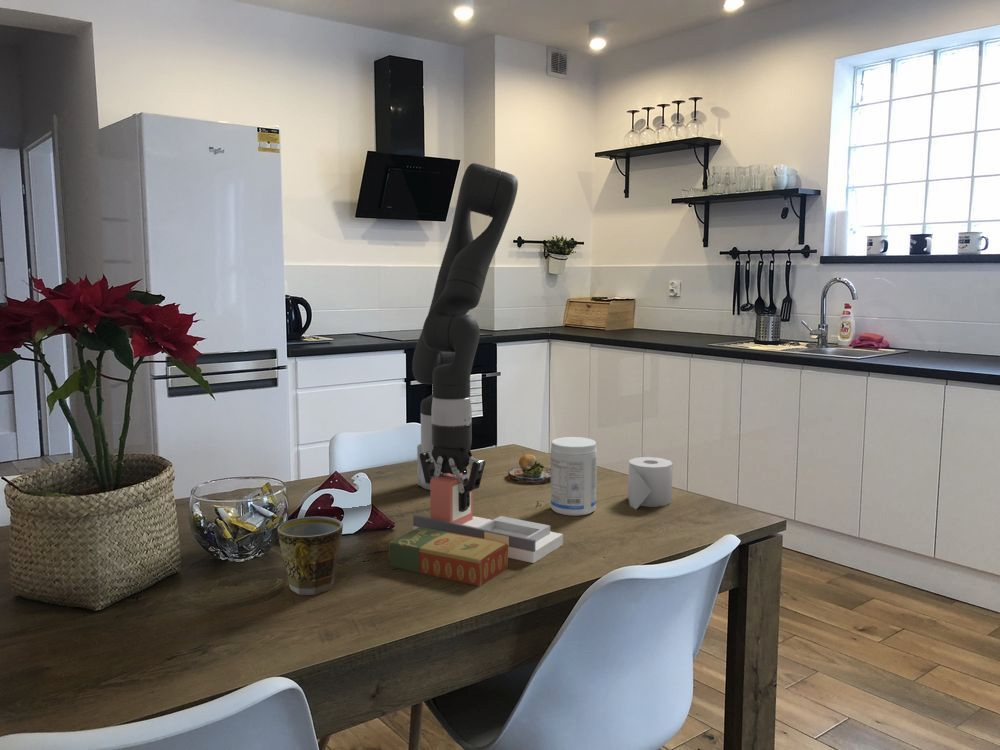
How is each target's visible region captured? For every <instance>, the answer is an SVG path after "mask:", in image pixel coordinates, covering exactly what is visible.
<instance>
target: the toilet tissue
mask: <svg viewBox="0 0 1000 750" xmlns="http://www.w3.org/2000/svg"><path fill="white" fill-rule="evenodd" d="M627 484H628V485H627V499H628V503H629V506H630V507H632V508H633V509H635V510H637V509H638V508H639V507H641V506H642V507H650V508H657V507H666V506H668V505H670V504H672V495H673V494H672V493H673V490H672V489H673V462H672V460H669V459H665V458H662V457H653V456H642V457H640V456H639V457H634V458H631V459H628V482H627Z"/></svg>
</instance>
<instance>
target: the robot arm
mask: <svg viewBox="0 0 1000 750" xmlns="http://www.w3.org/2000/svg"><path fill="white" fill-rule="evenodd" d="M518 188H519V183H518V179H517V176H515V175H514V174H512V173H509V172H506V171H503V170H499V169H496V168H493V167H490V166H487V165H483V164H480V163H474V162H473V163H470V164H469V165H468V166H467V167H466V169H465V171H464V174H463V176H462V178H461V183H460V187H459V190H458V197H457V200H456V205H455V211H454V215H453V221H452V226H451V229H450V234H449V238H448V241H447V245H446V249H445V251H444V255H443V258H442V261H441V263H440V268H439V271H438V274H437V279H436V282H435V287H434V291H433V296H432V299H431V303H430V306H429V309H428V313H427V316H426V318H425V320H424V322H423V325H422V330H421V333H420V335H419V338H418V341H417V343H416V346H415V348H414V352H413V357H412V368H411V369H412V370H411V371H412V375H413V377H414V379H415V380H416V382H418V383H419V384H422V385H432V394H430V395H428V396H427V397H425V398H423V399H422V400H421V402H420V406H419V407H420V408H419V409H420V444H418V445H417V446H416V450H417V453H416V454H417V457H416V458H417V461H416V463H417V486H420V487H422V489H424V490H429V491H430V479H433V478H435V477H441V476H444V475H446V474H449V473H450V474H452V475H453V476H454V479H455V480H457V481H458V488H459V491H460V493H459V511H460V512H464V511H466V510H467V509H468V508H469V506H470V491H474V490H477V489H479V488H480V485H481V481H482V477H483V474H484V473H483V472H484V470H485V465H486V461H485V460H484V459H482V458H481V459H477V458H476V457H473V454H472V451H471V447H472V439H473V435H472V432H473V431H472V428H473V427H472V422H473V421H472V418H473V417H472V412H473V411H472V410H473V409H472V402H471V375H472V374H471V373H472V369H473V365H474V360H475V356H476V353H477V349H478V347H479V346H478V345H479V341H480V337H481V332H480V325H479V323H478V321H477V320H476V318H475V317H474V316H472V315H471V314H468V313H469V312H470V311H471V310H473V309H476V307H478V305H479V304H480V300H481V297H482V294H483V290H484V286H485V282H486V279H487V275H488V272H489V268H490V265H491V264H492V263H491V262H492V260H493V257H494V255H495V253H496V250H497V248H498V247H499V244H500V241H501V239H502V237H503V234H504V232H505V229H506V226H507V223H508V221H509V218H510V216H511V214H512V210H513V208H514V204H515V201H516V198H517V193H518ZM472 212H473V213H476V214H480V215H483V216H486V217H488V218H491V221H490V222H489V224H488V226H487V227H486V228H485V229H484V230H483V231H482V232H481V233H480V234H479V235H478V236H477V237H475V239H474V236H473V231H472V223H471V222H472V221H471V213H472ZM469 466H470V467H469ZM469 469H470V470H469ZM460 473H462V475H460ZM463 480H464V481H463Z"/></svg>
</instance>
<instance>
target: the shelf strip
mask: <svg viewBox="0 0 1000 750" xmlns="http://www.w3.org/2000/svg"><path fill="white" fill-rule="evenodd" d="M412 520H413V522H412V525H413V526H412V528H413V529H412V531H413V530H415V529H417V528H418V527H423V528H427V529H433V530H439V531H444V532H449V533H455V534H460V535H466V536H471V537H477V538H483V539H488V540H494V541H499V542H504V543H507V544H508V559H512V560H513V559H514V560H518V561H522V562H528V563H531V564H535V563H537V562H538V561H539V560H541V559H542V558H544V557H546V556H548V555H549V554H550V553H552V552H554V551H555V550H557V549H559V548H560V547H561V546H563V545H564V533H559V532H555V531H551V525H550V524H544V523H538V522H533V521H528V520H523V519H518V518H513V517H508V516H504V515H500V516H498V517H496V518H494V519H489V518H484V517H480V516H479V517H478V516H475V515H474V516H473V519H472V520H470V521H468V522H466V523H464V524H457V523H452V522H447V521H443V520H438V519H433V518H431V517H428V516H423V515H418V514H413V517H412Z"/></svg>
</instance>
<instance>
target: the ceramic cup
mask: <svg viewBox="0 0 1000 750" xmlns="http://www.w3.org/2000/svg"><path fill="white" fill-rule="evenodd" d="M343 527H344V525H343V522H342V521H340V520H339V519H337V518H334V517H329V516H305V517H298V518H294V519H289V520H287V521H285V522H283V523H281V524H280V525H278V527H277V537H278V541H279V545H280V546H279V547H280V550H281V554H282V558H283V563H284V568H285V572H286V576H287V581H288V586H289V588H290V590H291V591H292V592H294V593H296V594H297V595H301V596H302V595H303V596H305V595H306V596H315V595H318V594H322V593H326V592H328V591H330V590H331V588H332V586H333V585H334V582H335V579H336V578H335V577H336V571H337V565H338V558H339V551H340V547H341V542H342V536H343Z"/></svg>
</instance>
